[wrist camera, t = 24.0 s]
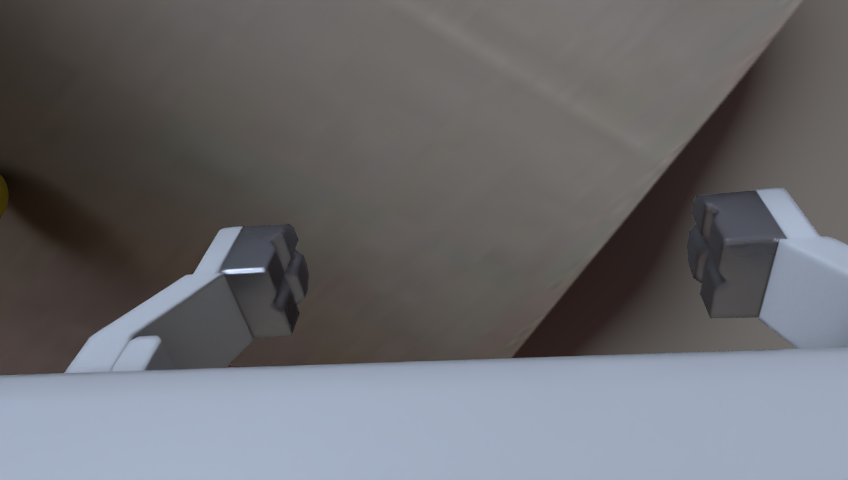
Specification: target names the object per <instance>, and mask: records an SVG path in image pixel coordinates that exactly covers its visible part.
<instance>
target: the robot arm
mask: <svg viewBox="0 0 848 480" xmlns="http://www.w3.org/2000/svg"><path fill="white" fill-rule="evenodd" d="M692 215H693V217H694V220H695V222H696V225H695V226H694V227H693V228H692V230H690V231H689V236H688V245H687V249H688V262H689V266H690V270H691V272H692V275H693V278H694V279H696V280H697V281H699V282H701V283H702V286H701V292H700V295H701V297H702V299H703V301H704V304H705V306H706V309H707V311H708V314H709V316H710V318H745V317H746V318H748V317H759V320H760V321H761V322H763V323H764V324H765V325H767V326H768V327H769V328H771V329H772V330H773V331H774V332H776V333H777V334H778V335H780V336H781V337H782V338H784V339H785V340H786V341H787V342H789V343H790V344H791V345H792V346H794V347H795V348H796V349H775V350H774V349H773V350H743V351H713V352H685V353H653V354H625V355H595V356H564V357H536V358H505V359H475V360H444V361H414V362H384V363H354V364H324V365H294V366H264V367H234V368H226V367H227V366H228V365H229V364H230V363H231V362H232V361H233V360H234V359H235V358H236V357H237V356H238V355H239V354H240V353H241V352H242V351H243V350H244V349H245V348H246V347H247V346H248V345H249V344H250V343H251V342H252V341H253V338H263V337H278V336H291V335H292V333H293V330H294V327H295V324H296V321H297V319H298V316H299V310H298V307H297V304H298V303H299V302H301V301H302V300H303V299H304V298H305V296H306V293H307V290H308V278H309V275H308V269H307V264H306V261H305V258H304V256H303V255H302V254H301V253H299V252H298V251H297V250H296V249H295V247H296V245H297V242H298V237H297V235H296V232H295V229H294V227H292V226H291V225H290V224H279V225H259V226H246V227H244V226H240V227H227V228H223V229H221V230H219V232H218V234H217V235H216V237H215V239H214V240H213V242H212V244H211V245H210V247H209V249H208V250H207V252H206V253H205V255H204V257H203V258H202V260H201V262H200V263H199V265H198V267H197V268H196V270H195V272H194V273H193V275H185V276H184V277H182V278H181V279H179V280H178V281H176V282H175V283H173V284H171V285H170V286H168V287H167V288H165V289H164V290H162V291H161V292H159V293H157V294H156V295H154V296H153V297H151V298H150V299H148V300H147V301H145V302H143V303H142V304H140V305H139V306H137V307H136V308H134V309H133V310H131V311H129V312H128V313H126V314H125V315H123V316H122V317H120V318H119V319H117V320H115V321H114V322H112V323H111V324H109V325H108V326H106V327H105V328H103V329H102V330H100V331H98V332H97V333H95V334H94V335H92V336H91V337H90V338H89V339H88V340H87V342H86V343H85V345H84V346H83V347H82V349H81V350H80V352H79V353H78V354H77V356H76V357H75V359H74V360H73V361H72V363H71V364H70V366H69V367H68V368H67V370H66V371H65V373H55V374H25V375H0V480H848V245H847V244H845V243H843V242H841V241H838V240H836V239H834V238H832V237H821V236H820V235H819V234H818V233H817V231H816V230H815V228H814V227H813V226H812V225H811V223H810V222H809V221H808V219H807V218H806V216H805V215H804V214H803V212H802V211H801V210H800V208H799V207H798V206H797V204H796V203H795V201H794V200H793V199H792V197H791V196H790V195H789V194H788V192H787V191H786V190H785V189H783V188H781V187H777V188H768V189H758V190H752V191H743V192H730V193H719V194H707V195H697V196H696V197H695V200H694V202H693V208H692Z"/></svg>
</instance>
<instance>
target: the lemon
mask: <svg viewBox="0 0 848 480" xmlns="http://www.w3.org/2000/svg"><path fill="white" fill-rule="evenodd" d="M8 197H9V193H8V188H7V185H6V183H5V180H4V179H3V177H2V176H1V175H0V218H1V216H2V214H3V213H4V211H5V209H6V207H7V204H8Z"/></svg>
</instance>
